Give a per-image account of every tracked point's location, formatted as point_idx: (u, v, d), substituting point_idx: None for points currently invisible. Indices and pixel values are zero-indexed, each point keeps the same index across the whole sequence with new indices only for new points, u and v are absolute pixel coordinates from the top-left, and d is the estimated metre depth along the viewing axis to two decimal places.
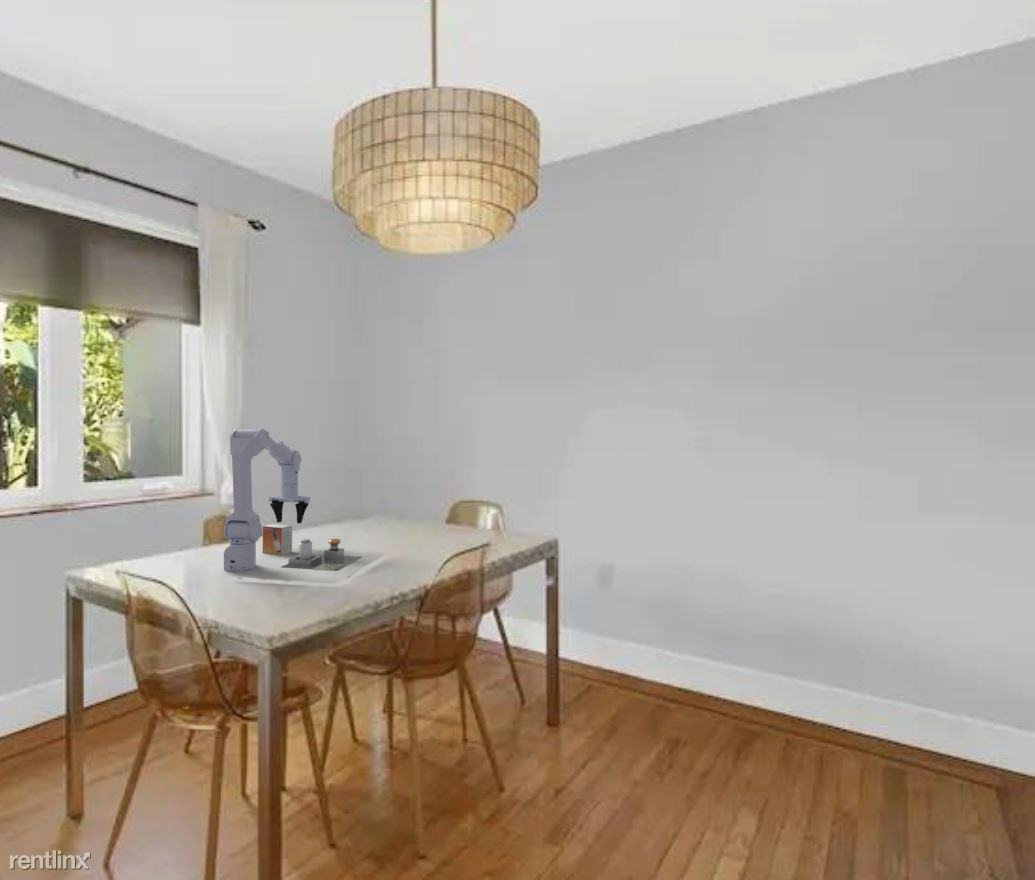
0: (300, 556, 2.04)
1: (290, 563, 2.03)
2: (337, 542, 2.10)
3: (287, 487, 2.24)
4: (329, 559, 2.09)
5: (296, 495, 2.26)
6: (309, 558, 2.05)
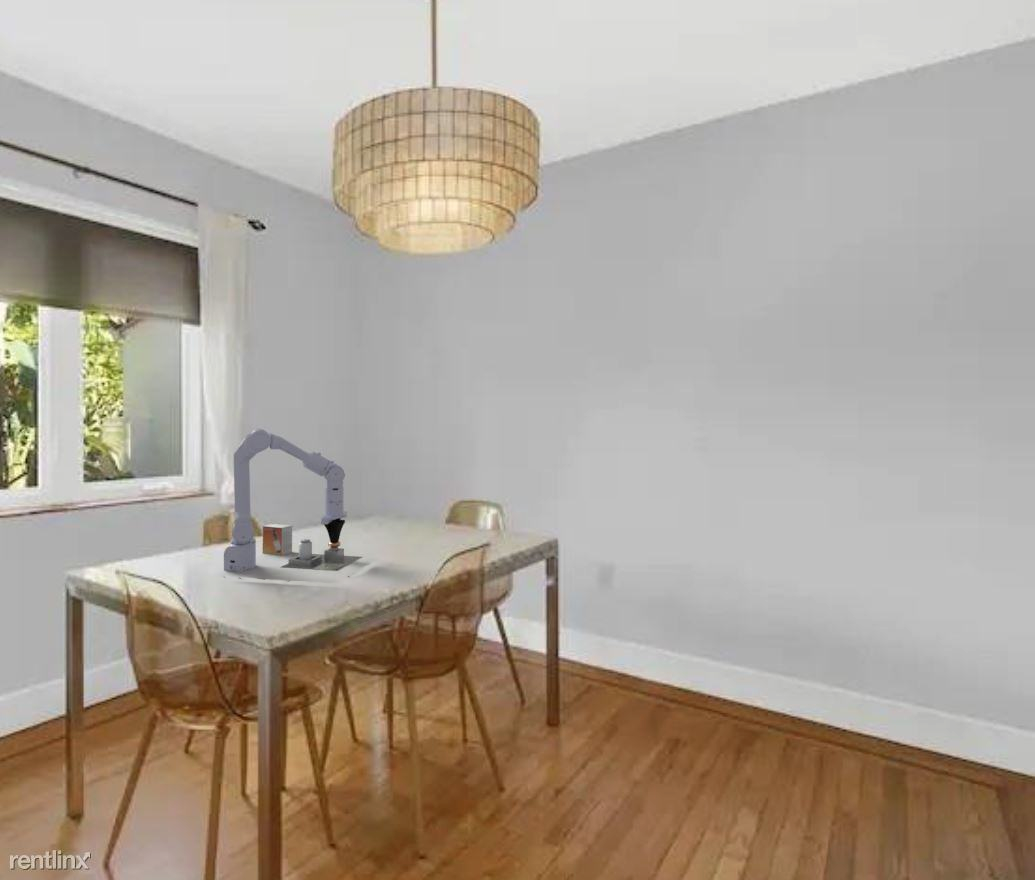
0: (300, 556, 2.04)
1: (290, 563, 2.03)
2: (337, 544, 2.10)
3: None
4: (329, 559, 2.09)
5: (329, 514, 2.08)
6: (309, 558, 2.05)
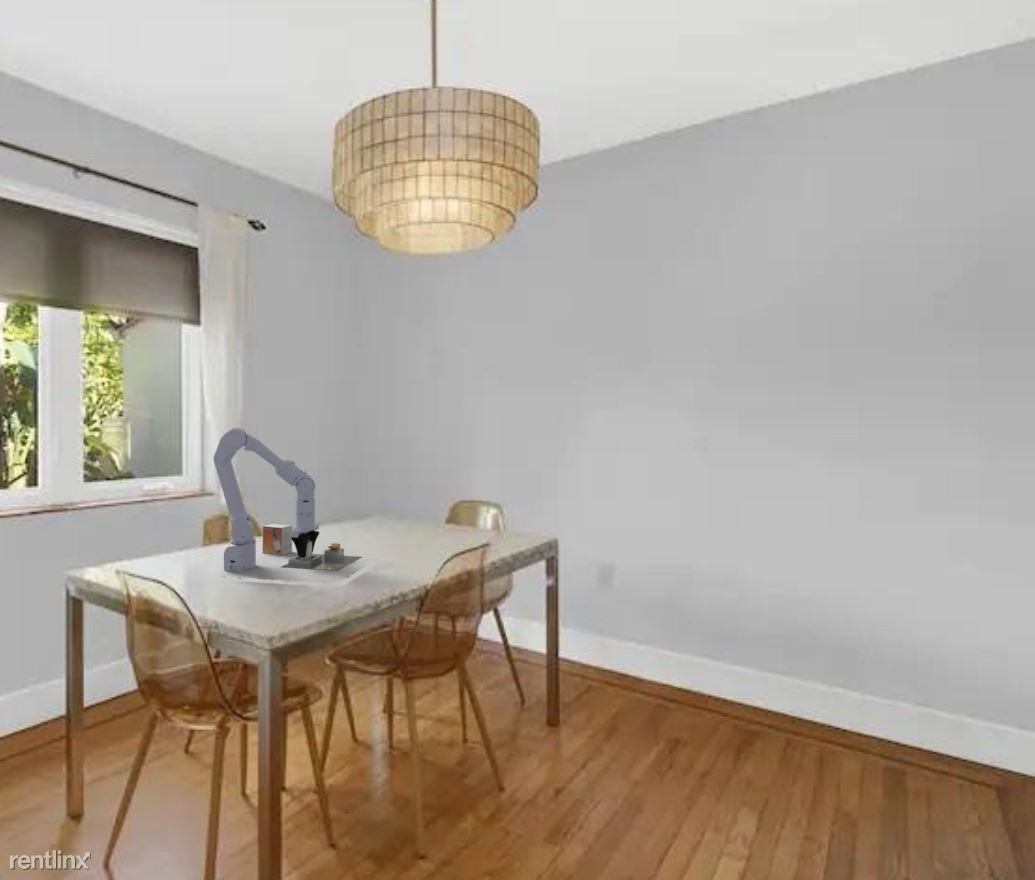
0: None
1: (290, 563, 2.03)
2: (337, 547, 2.10)
3: None
4: (329, 559, 2.09)
5: (300, 527, 2.03)
6: (309, 558, 2.05)
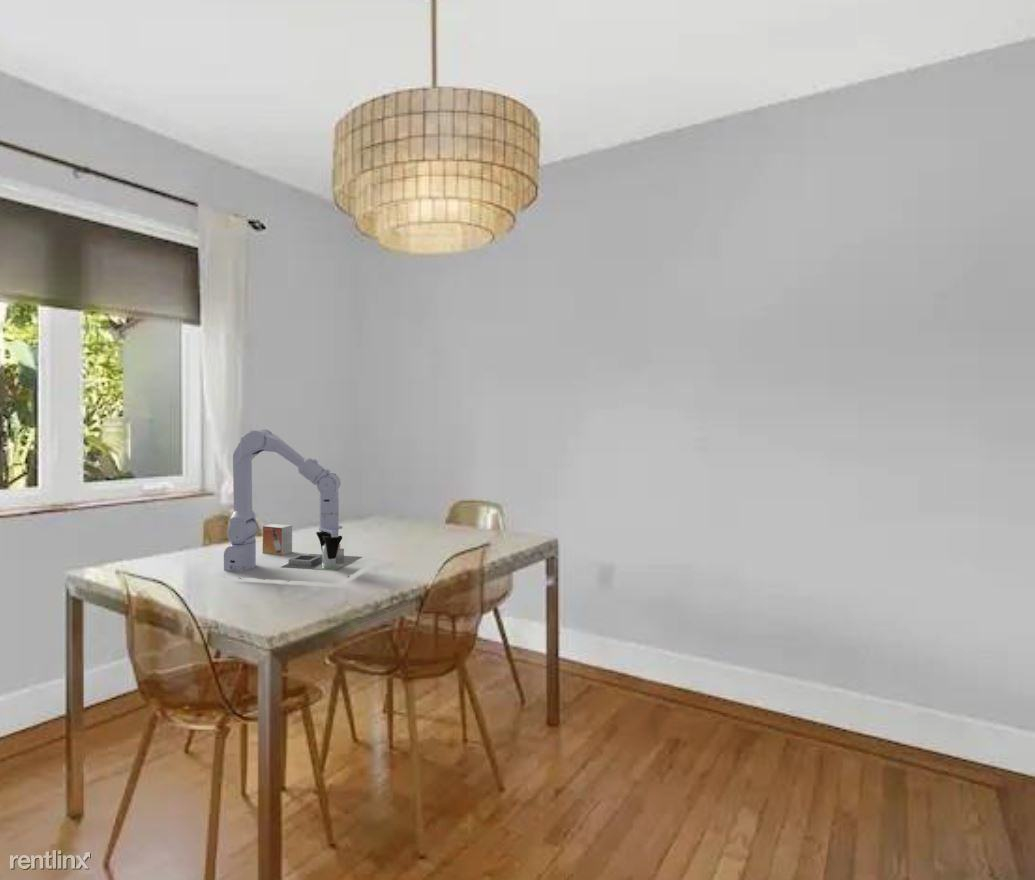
0: (327, 560, 1.99)
1: (290, 563, 2.03)
2: None
3: (320, 516, 1.98)
4: None
5: (330, 526, 1.98)
6: (335, 561, 2.01)
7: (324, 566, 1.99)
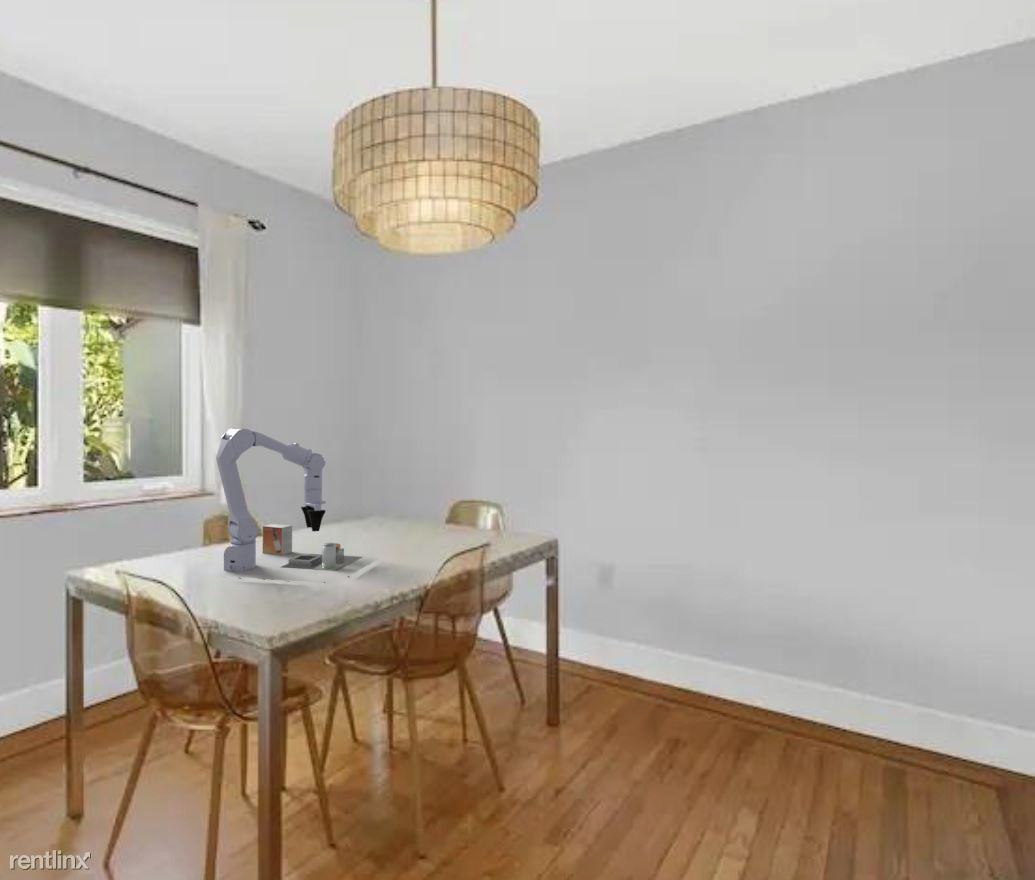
0: (327, 560, 1.99)
1: (290, 563, 2.03)
2: (337, 547, 2.10)
3: (305, 491, 2.12)
4: None
5: (314, 501, 2.12)
6: (335, 561, 2.01)
7: (324, 566, 1.99)
